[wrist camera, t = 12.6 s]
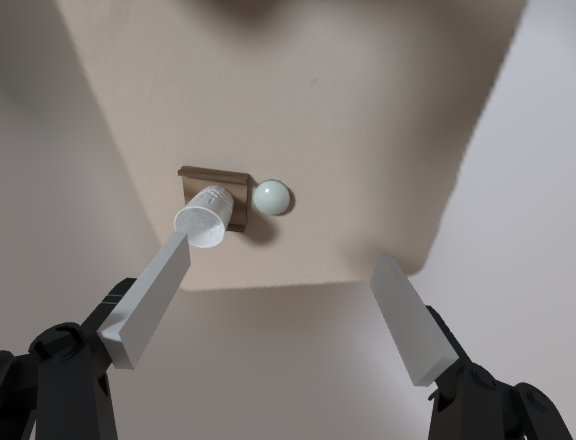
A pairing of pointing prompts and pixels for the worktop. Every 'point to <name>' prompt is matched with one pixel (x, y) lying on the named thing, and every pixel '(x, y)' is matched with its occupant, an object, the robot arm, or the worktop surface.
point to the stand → (231, 181)
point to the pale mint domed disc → (272, 197)
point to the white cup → (206, 217)
